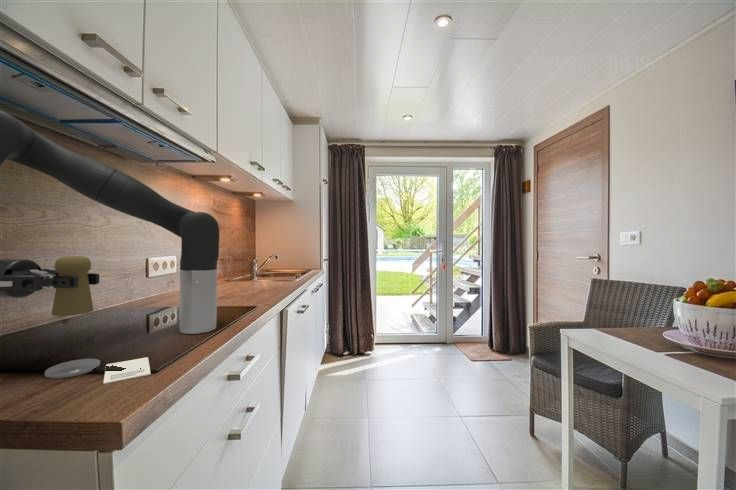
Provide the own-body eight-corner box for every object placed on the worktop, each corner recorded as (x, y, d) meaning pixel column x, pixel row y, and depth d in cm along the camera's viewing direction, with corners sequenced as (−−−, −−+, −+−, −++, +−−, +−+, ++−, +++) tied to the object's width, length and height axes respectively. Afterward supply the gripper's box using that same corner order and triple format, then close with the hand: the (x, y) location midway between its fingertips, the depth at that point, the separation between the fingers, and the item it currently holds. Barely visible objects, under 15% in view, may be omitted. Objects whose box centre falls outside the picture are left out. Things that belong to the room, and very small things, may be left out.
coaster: (49, 367, 63) (49, 364, 63) (101, 358, 68) (101, 355, 68) (40, 382, 57) (40, 379, 57) (98, 371, 62) (98, 368, 62)
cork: (45, 313, 61) (46, 255, 60) (85, 307, 66) (85, 254, 66) (59, 317, 58) (59, 257, 58) (99, 311, 63) (99, 256, 63)
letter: (106, 365, 65) (106, 364, 65) (148, 357, 69) (148, 356, 69) (103, 384, 57) (103, 382, 57) (150, 374, 61) (150, 373, 61)
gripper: (-47, 261, 55) (51, 264, 55) (39, 256, 69) (117, 258, 69) (-47, 304, 55) (50, 307, 55) (39, 290, 69) (117, 293, 69)
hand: (87, 280), depth 62 cm, fingers closed on cork, 4 cm apart
